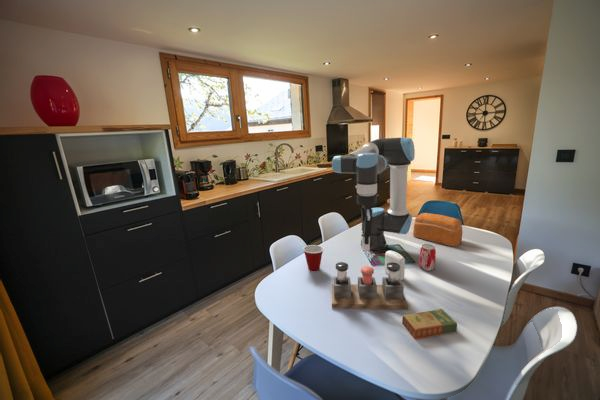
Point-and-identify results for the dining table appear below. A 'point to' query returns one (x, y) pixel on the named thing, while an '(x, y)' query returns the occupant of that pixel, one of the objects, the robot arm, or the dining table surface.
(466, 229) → the dining table surface
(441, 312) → the carton
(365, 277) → the red plug
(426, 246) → the soda can
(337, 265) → the grey plug
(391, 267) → the grey plug
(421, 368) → the dining table surface
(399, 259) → the photo printer
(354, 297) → the socket board
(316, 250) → the plastic cup
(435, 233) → the bread
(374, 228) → the robot arm
